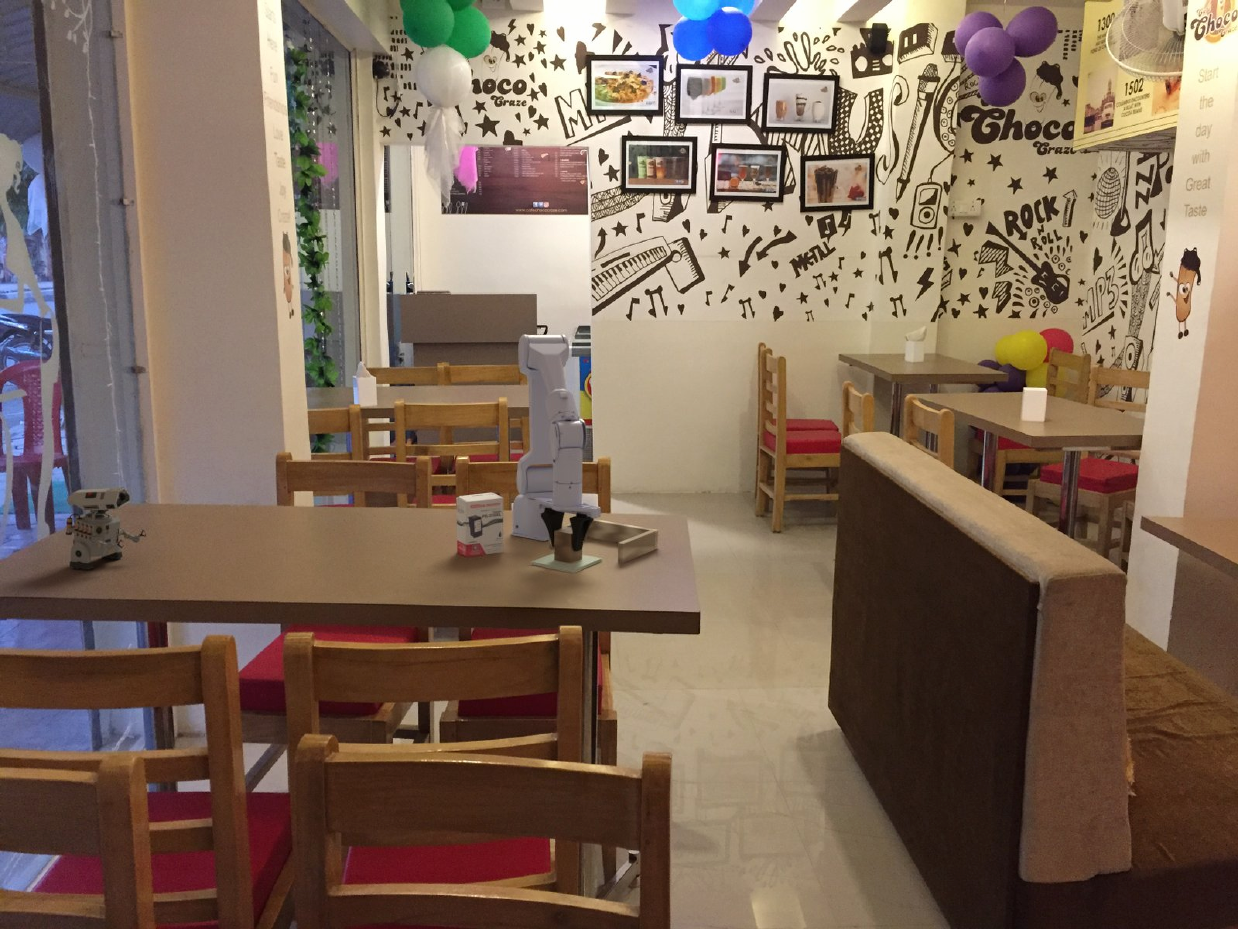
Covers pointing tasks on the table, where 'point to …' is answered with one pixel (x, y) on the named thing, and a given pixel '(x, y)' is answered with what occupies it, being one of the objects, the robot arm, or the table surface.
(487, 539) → the ink box
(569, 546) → the walnut block
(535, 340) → the robot arm
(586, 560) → the pad
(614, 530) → the corral
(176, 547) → the table surface
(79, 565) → the figurine
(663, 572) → the table surface
